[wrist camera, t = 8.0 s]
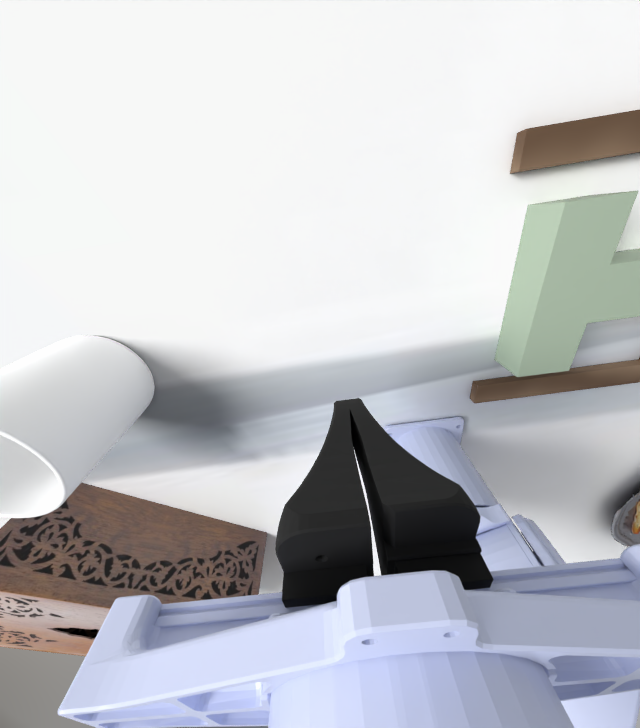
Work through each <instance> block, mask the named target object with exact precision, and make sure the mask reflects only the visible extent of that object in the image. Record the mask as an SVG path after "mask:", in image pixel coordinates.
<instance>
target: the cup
mask: <svg viewBox="0 0 640 728" xmlns="http://www.w3.org/2000/svg"><path fill="white" fill-rule="evenodd" d="M153 395H154V380H153V376H152V374H151V371H150V369H149V368H148V366H147V365H146V363H145V362H144V361H143V360H142V359H141V358H140V357H139V356H138V355H137V354H136V353H135V352H133V351H132V350H131V349H129V348H128V347H126V346H124V345H123V344H121V343H119V342H116V341H114V340H111V339H108V338H104V337H100V336H92V335H80V336H73V337H69V338H66V339H63V340H61V341H58V342H56V343H54V344H51V345H49V346H47V347H45V348H43V349H41V350H39V351H37V352H34V353H32V354H30V355H28V356H26V357H24V358H22V359H20V360H18V361H15V362H13V363H11V364H9V365H7V366H5V367H3V368H1V369H0V517H5V518H31V517H37V516H42V515H45V514H48V513H50V512H52V511H54V510H56V509H57V508H59V507H60V506H61V505H62V504H63V503H64V502H65V500H66V499H67V498H68V497H69V496H70V495H71V494H72V492H73V491H74V490H75V489H76V488H77V487H78V486H79V485H80V483H81V482H82V481H83V480H84V479H85V478H86V477H87V475H88V474H89V473H90V472H91V471H92V470H93V469H94V467H95V466H96V465H97V464H98V463H99V462H100V461H101V460H102V458H103V457H104V456H105V455H106V454H107V453H108V452H109V450H110V449H111V448H112V447H113V446H114V445H115V444H116V443H117V441H118V440H119V439H120V438H121V437H122V436H123V435H124V433H125V432H126V431H127V430H128V429H129V428H130V427H131V425H132V424H133V423H134V422H135V421H136V420H137V419H138V418H139V416H140V415H141V414H142V413H143V412H144V411H145V409H146V408H147V407H148V405H149V404H150V402H151V401H152V398H153Z"/></svg>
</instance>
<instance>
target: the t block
mask: <svg viewBox="0 0 640 728" xmlns="http://www.w3.org/2000/svg"><path fill="white" fill-rule="evenodd" d="M637 194H638V191H630V192H620V193H609V194H599V195H588V196H582V197H576V198H569V199H563V200H557V201H551V202H544V203H538V204H532V205H528V207H527V212H526V216H525V221H524V226H523V230H522V235H521V239H520V244H519V249H518V253H517V258H516V262H515V267H514V272H513V276H512V281H511V286H510V290H509V295H508V299H507V304H506V309H505V313H504V318H503V322H502V327H501V332H500V336H499V341H498V345H497V350H496V355H495V359H494V360H495V361H497V362H498V363H499V364H501V365H502V366H503V367H504V368H506V369H507V370H508V371H510V372H511V373H512V374H514V375H515V376H516V377H523V376H531V375H539V374H547V373H555V372H563V371H569V369H570V367H571V364H572V362H573V359H574V356H575V354H576V351H577V349H578V346H579V343H580V341H581V338H582V336H583V333H584V331H585V328H586V325H587V323H593V322H601V321H608V320H616V319H623V318H630V317H638V316H640V249H633V250H626V251H619V252H615V250H616V248H617V245H618V243H619V240H620V238H621V235H622V232H623V230H624V227H625V225H626V222H627V219H628V217H629V214H630V212H631V209H632V206H633V204H634V201H635V199H636V196H637Z"/></svg>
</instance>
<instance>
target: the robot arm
mask: <svg viewBox="0 0 640 728" xmlns="http://www.w3.org/2000/svg"><path fill="white" fill-rule="evenodd" d="M457 425H458V426H457ZM463 426H464V420H463V419H462V418H461V417H454V418H446V419H438V420H430V421H422V422H414V423H407V424H399V425H391V426H387V427H385V429H383V428H382V427H381V426H380V425H379V424H378V422H377V421H376V420H375V419H374V418H373V416H372V415H371V414H370V412H369V411H368V410H367V408H366V407H365V405H364V404H363V402H362V400H361V399H359V398H357V399H349V400H342V401H336V402H335V403H334V412H333V417H332V421H331V425H330V428H329V431H328V434H327V437H326V440H325V442H324V445H323V447H322V449H321V451H320V453H319V456H318V458H317V459H316V461H315V463H314V465H313V467H312V468H311V470H310V472H309V473H308V475H307V476H306V478H305V479H304V481H303V482H302V484H301V485H300V487H299V488H298V489H297V491H296V492H295V493H294V494H293V496H292V497H291V498H290V499H289V501H288V502H287V503H286V504H285V507H284V509H283V512H282V515H281V519H280V522H279V527H278V532H277V540H276V555H277V557H278V559H279V562H280V564H281V566H282V569H283V571H284V577H283V590H282V592H279V593H269V594H259V595H250V596H240V597H230V598H220V599H210V600H200V601H190V602H180V603H170V604H162V603H161V602H160V600H159V599H158V598H157V597H155V596H152V595H137V596H127V597H119V598H117V599H115V601H114V603H113V605H112V607H111V609H110V611H109V613H108V615H107V617H106V618H105V620H104V622H103V624H102V626H101V628H100V630H99V632H98V634H97V636H96V638H95V640H94V642H93V644H92V646H91V647H90V649H89V651H88V653H87V655H86V657H85V659H84V661H83V663H82V665H81V667H80V669H79V671H78V673H77V675H76V676H75V679H74V680H73V682H72V684H71V686H70V688H69V690H68V692H67V694H66V696H65V698H64V700H63V702H62V704H61V705H60V707H59V709H58V715H60V716H63V717H66V718H69V719H72V720H75V721H78V722H81V723H84V724H88V725H91V726H94V727H97V728H158V727H159V728H160V727H215V726H268V728H635V727H636V722H637V718H638V713H639V708H640V544H637V545H633V546H630V547H628V548H627V549H625V550H624V551H623V552H622V554H621V556H620V558H617V559H607V560H598V561H588V562H578V563H568V564H566V563H565V562H564V560H563V559H562V558H561V556H560V555H559V554H558V552H557V551H556V550H555V548H554V547H553V546H552V544H551V543H550V542H549V540H548V539H547V538H546V536H545V535H544V534H543V532H542V531H541V530H540V529H539V527H538V526H537V525H536V524H535V522H534V521H532V520H530V519H527V518H523V517H522V516H521V515H519V514H518V515H515V516H513V517H512V518H513V519H514V521H515V522H516V524H517V525H518V527H519V528H520V530H521V531H522V532H521V533H522V535H523V536H524V538H525V539H526V541H527V542H528V544H529V545H530V547H531V548H532V550H533V551H532V550H531V548H530V547H529V545H528V544H527V542H526V541H525V539H524V538H523V536H522V535H521V533H520V532H519V530H518V529H517V528H516V526H515V525H514V523H513V522H512V520H511V519H510V518H509V516H508V515H507V513H506V512H505V510H504V509H503V508H502V506H501V505H500V504H499V503H498V502H497V500H496V499H495V497H494V496H493V494H492V493H491V491H490V490H489V488H488V487H487V485H486V484H485V482H484V481H483V479H482V478H481V476H480V475H479V473H478V472H477V470H476V469H475V467H474V466H473V464H472V463H471V461H470V460H469V458H468V457H467V455H466V454H465V452H464V451H463V449H462V448H461V446H460V443H461V438H462V432H463ZM390 433H391V434H390ZM354 450H355V454H356V457H357V461H358V464H359V468H360V471H361V475H362V478H363V482H364V485H365V489H366V493H367V499H368V504H369V509H370V514H371V520H372V525H373V531H374V536H375V542H376V547H377V553H378V558H379V564H380V570H381V575H382V576H374V573H373V554H372V540H371V526H370V520H369V515H368V510H367V505H366V501H365V497H364V493H363V489H362V485H361V481H360V476H359V472H358V467H357V463H356V458H355V454H354Z"/></svg>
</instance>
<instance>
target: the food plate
mask: <svg viewBox="0 0 640 728" xmlns="http://www.w3.org/2000/svg"><path fill="white" fill-rule="evenodd" d="M639 489H640V488H639ZM632 495H633V498H631V499H630V500H628V501H627V503H626V504H625V505H623V507H622V508H621V509H619V510H618V511H616V513H615V515H614V518H613V519H614V520H613V521H612V522H613V523H612V525H611V526H612V528H611V530H612V535H613V537H614V539H615V540H616V541H618V542H620V543H621V544H622V545H625V546H627V547H628V546H633V545H637V544H640V491H639V493H637V494H636V495H635V496H634V494H632Z"/></svg>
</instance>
